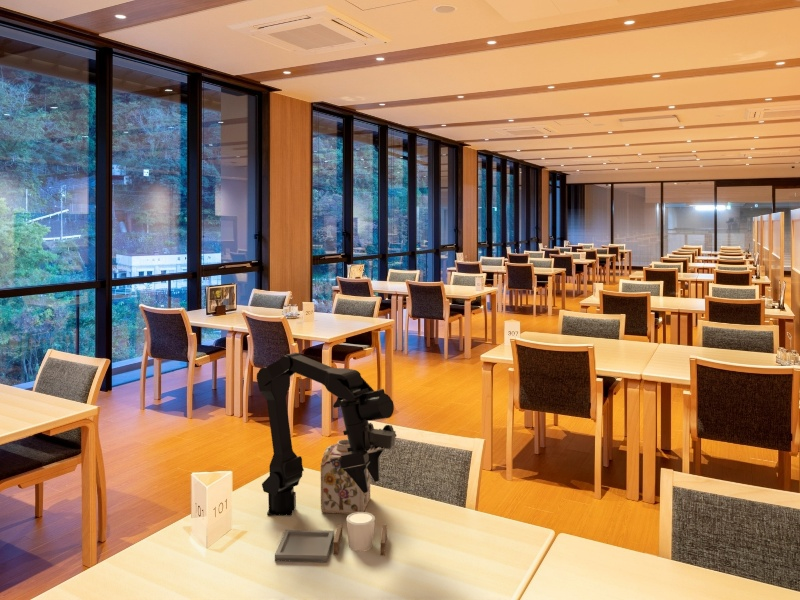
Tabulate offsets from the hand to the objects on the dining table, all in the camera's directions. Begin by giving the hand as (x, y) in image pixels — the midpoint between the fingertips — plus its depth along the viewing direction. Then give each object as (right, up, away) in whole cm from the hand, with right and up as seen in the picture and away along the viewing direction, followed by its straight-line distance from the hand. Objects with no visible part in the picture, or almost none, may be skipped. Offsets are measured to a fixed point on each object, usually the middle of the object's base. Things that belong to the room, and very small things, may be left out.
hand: (371, 486), depth 156 cm
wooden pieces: (-3, -14, 0) cm, 15 cm away
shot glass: (-3, -14, +1) cm, 15 cm away
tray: (-16, -14, -1) cm, 21 cm away
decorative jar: (-8, -12, +23) cm, 27 cm away
